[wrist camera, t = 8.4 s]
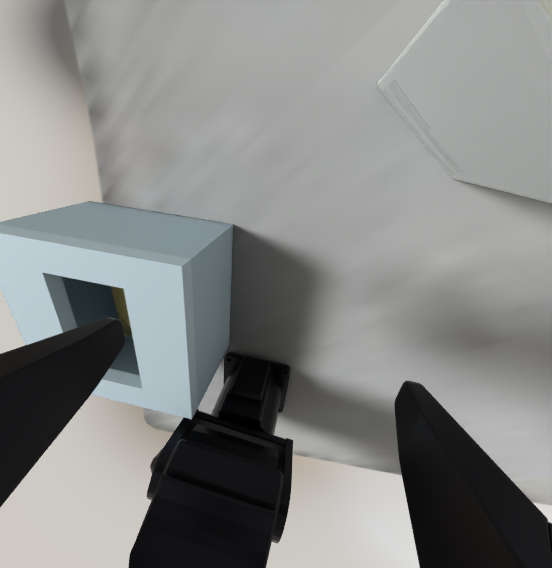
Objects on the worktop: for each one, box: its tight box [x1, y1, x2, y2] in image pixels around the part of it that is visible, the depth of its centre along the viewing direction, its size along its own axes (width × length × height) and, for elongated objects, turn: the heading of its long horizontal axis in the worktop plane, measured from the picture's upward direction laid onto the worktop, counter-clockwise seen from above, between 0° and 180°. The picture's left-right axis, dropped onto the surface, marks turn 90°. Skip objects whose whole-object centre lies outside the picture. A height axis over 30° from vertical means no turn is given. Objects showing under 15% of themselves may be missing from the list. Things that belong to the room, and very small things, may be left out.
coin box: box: [0, 201, 233, 419], centre depth 20 cm, size 12×12×8 cm
